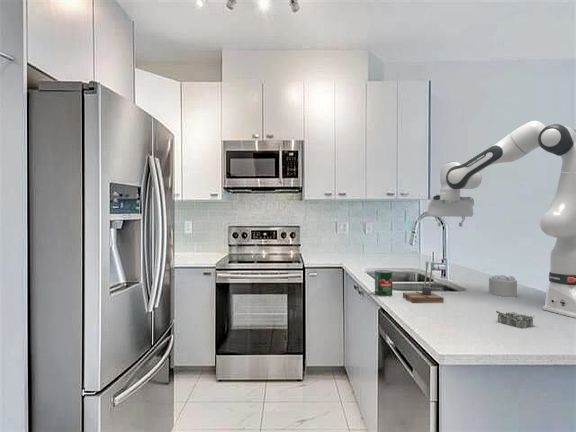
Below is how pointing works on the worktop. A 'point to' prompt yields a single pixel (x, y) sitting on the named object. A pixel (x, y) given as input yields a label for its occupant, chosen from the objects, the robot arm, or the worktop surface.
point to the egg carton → (515, 319)
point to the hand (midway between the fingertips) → (449, 226)
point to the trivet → (422, 297)
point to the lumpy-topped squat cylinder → (503, 286)
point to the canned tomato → (383, 283)
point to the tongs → (428, 289)
